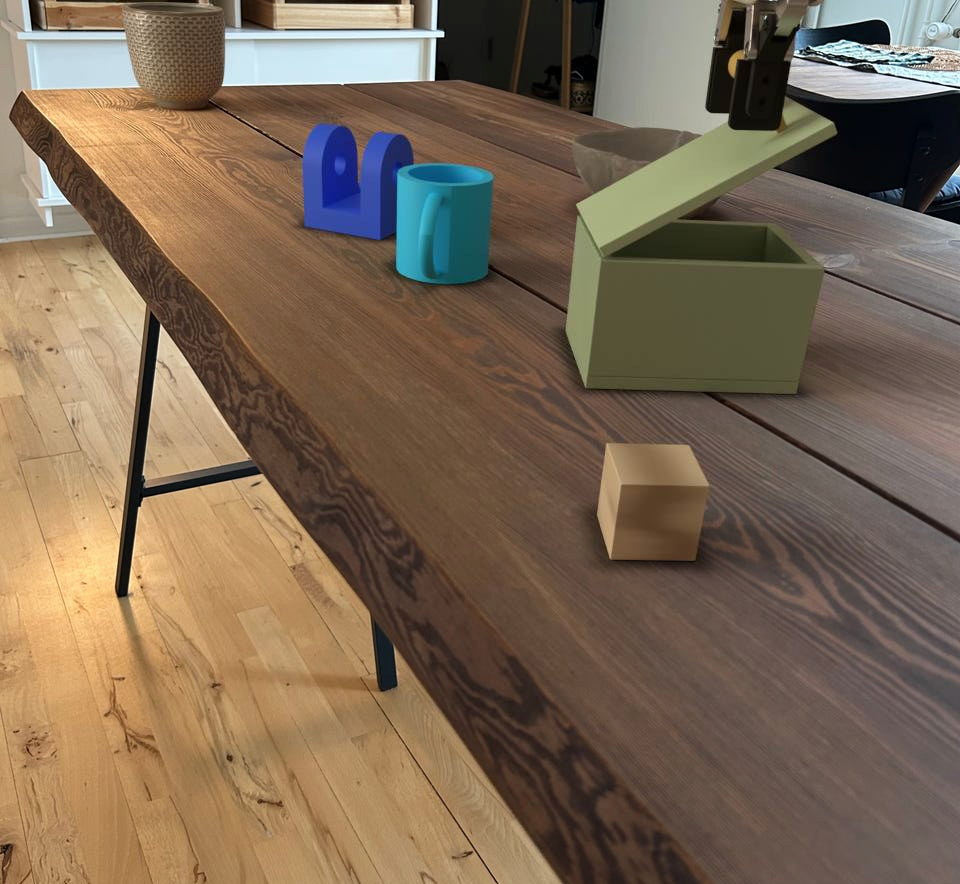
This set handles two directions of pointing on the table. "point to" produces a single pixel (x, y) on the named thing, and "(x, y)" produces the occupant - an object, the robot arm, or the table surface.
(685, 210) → the chest lid
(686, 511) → the block
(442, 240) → the mug
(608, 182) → the bowl
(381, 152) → the bracket
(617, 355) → the chest
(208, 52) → the planter
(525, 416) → the table surface
